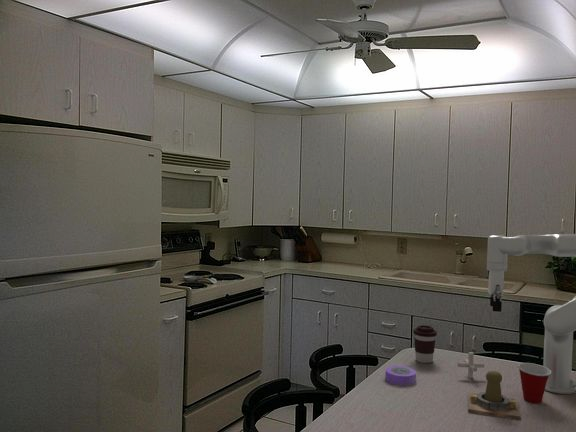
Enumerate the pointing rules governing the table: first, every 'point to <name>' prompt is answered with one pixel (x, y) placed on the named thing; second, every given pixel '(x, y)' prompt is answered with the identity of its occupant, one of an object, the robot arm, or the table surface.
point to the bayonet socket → (493, 406)
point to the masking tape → (400, 375)
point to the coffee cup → (424, 343)
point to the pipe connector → (470, 365)
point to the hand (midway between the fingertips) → (495, 308)
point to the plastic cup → (533, 381)
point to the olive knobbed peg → (493, 387)
